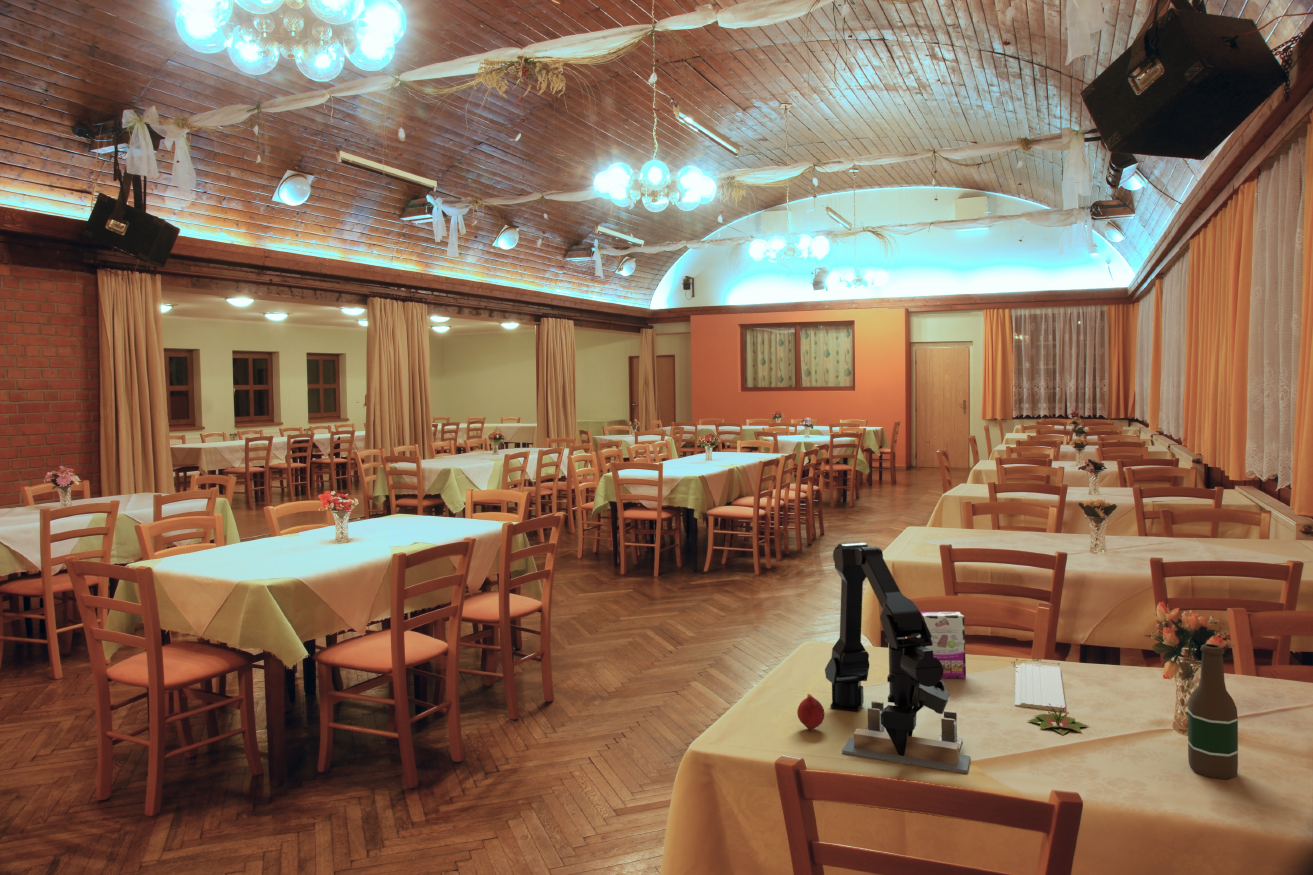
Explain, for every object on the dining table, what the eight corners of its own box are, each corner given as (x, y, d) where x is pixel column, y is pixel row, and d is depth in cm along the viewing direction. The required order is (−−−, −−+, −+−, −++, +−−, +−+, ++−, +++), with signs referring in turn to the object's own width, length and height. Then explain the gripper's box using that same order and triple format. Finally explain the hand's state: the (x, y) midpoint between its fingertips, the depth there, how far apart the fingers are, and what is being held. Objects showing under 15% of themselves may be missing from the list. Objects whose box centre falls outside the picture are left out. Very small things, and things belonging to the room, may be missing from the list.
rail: (854, 747, 166) (853, 733, 165) (857, 742, 168) (857, 728, 168) (957, 764, 157) (957, 749, 157) (958, 757, 159) (958, 743, 159)
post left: (863, 737, 172) (862, 708, 172) (868, 726, 178) (868, 699, 177) (884, 740, 170) (883, 711, 170) (889, 729, 176) (888, 701, 175)
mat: (842, 753, 165) (842, 750, 165) (849, 740, 171) (849, 737, 171) (967, 773, 154) (967, 770, 154) (970, 758, 160) (970, 755, 160)
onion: (826, 725, 179) (825, 690, 179) (822, 736, 173) (822, 699, 173) (800, 723, 181) (799, 688, 180) (795, 733, 175) (795, 697, 175)
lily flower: (1101, 730, 174) (1100, 709, 173) (1064, 741, 168) (1064, 720, 168) (1051, 712, 184) (1051, 692, 184) (1015, 722, 179) (1015, 702, 179)
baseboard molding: (1008, 707, 188) (1065, 714, 183) (1008, 695, 188) (1065, 701, 183) (1010, 667, 216) (1059, 672, 211) (1009, 656, 216) (1059, 661, 211)
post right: (936, 748, 166) (936, 718, 165) (940, 737, 171) (939, 708, 171) (959, 751, 164) (958, 721, 163) (962, 740, 169) (961, 711, 169)
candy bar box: (961, 672, 211) (960, 610, 211) (966, 679, 206) (965, 615, 206) (917, 672, 213) (916, 610, 212) (921, 678, 208) (920, 615, 207)
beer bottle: (1178, 763, 156) (1177, 640, 155) (1215, 760, 156) (1215, 638, 156) (1209, 781, 148) (1208, 652, 147) (1248, 778, 149) (1248, 650, 148)
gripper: (940, 690, 150) (941, 772, 150) (951, 660, 167) (952, 734, 167) (879, 682, 155) (881, 762, 155) (896, 654, 172) (897, 726, 172)
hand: (905, 746), depth 162 cm, fingers open, 9 cm apart
